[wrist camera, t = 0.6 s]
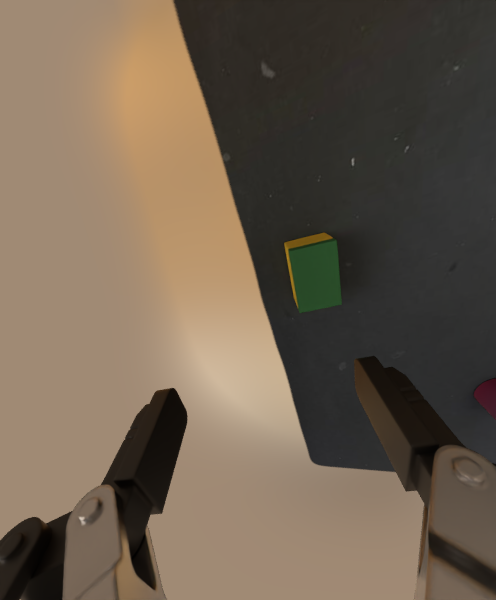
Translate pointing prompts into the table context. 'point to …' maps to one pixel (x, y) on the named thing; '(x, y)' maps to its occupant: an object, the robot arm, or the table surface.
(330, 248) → the sponge
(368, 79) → the table surface
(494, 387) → the cup
